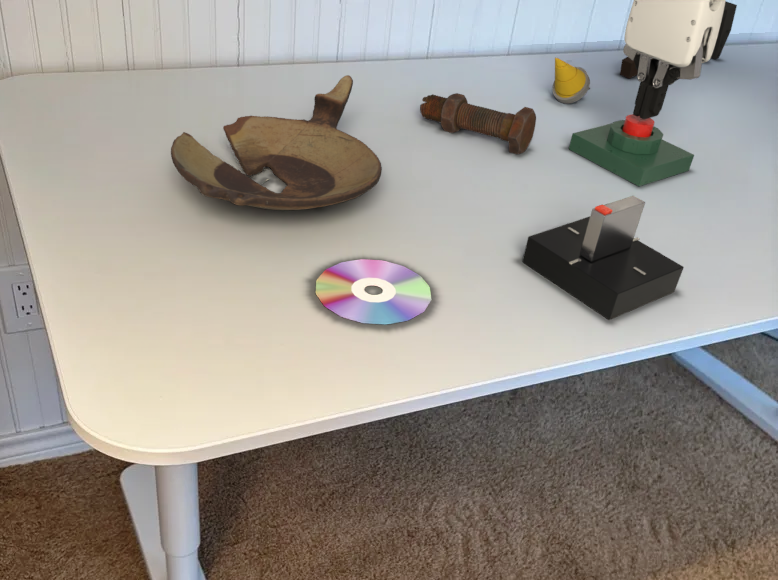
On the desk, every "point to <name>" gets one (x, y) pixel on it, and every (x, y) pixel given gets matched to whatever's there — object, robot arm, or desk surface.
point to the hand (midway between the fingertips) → (645, 115)
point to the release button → (638, 126)
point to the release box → (631, 153)
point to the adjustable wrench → (725, 28)
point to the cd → (395, 304)
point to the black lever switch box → (602, 270)
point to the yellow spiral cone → (569, 82)
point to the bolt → (481, 120)
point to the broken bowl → (285, 159)
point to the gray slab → (611, 228)
